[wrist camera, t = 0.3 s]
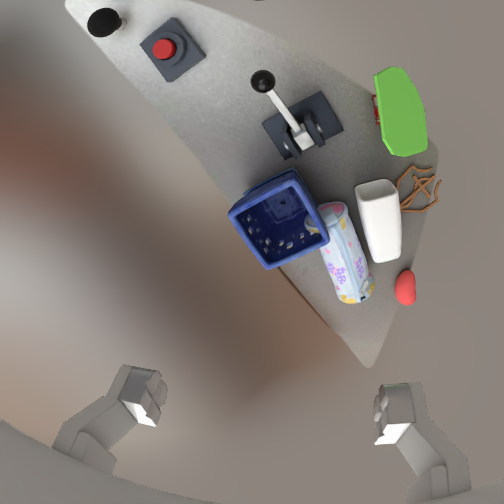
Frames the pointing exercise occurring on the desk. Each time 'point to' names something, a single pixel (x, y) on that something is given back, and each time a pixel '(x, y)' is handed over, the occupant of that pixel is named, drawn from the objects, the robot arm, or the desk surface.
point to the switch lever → (281, 107)
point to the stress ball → (406, 288)
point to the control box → (184, 53)
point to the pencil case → (343, 253)
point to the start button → (164, 49)
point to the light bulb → (105, 22)
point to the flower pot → (279, 219)
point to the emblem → (417, 189)
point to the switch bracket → (314, 118)
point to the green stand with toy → (399, 113)
